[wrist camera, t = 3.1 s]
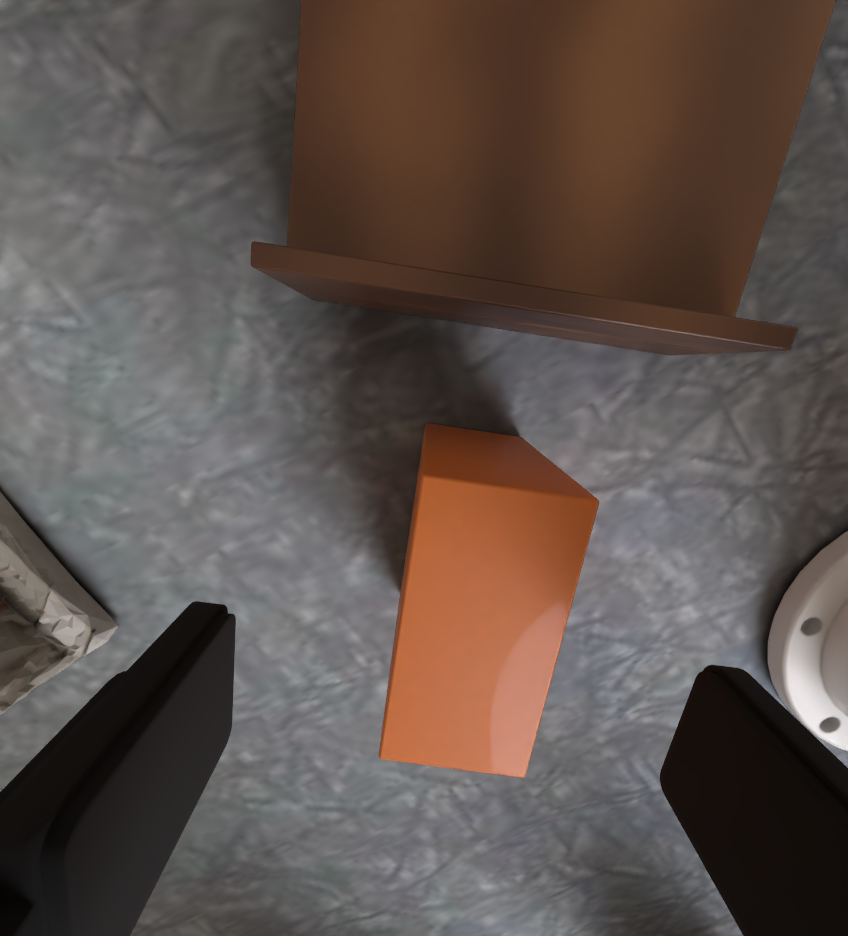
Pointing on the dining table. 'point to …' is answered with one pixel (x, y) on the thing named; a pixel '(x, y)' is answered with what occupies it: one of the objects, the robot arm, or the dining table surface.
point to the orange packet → (482, 601)
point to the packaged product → (40, 612)
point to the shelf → (546, 162)
